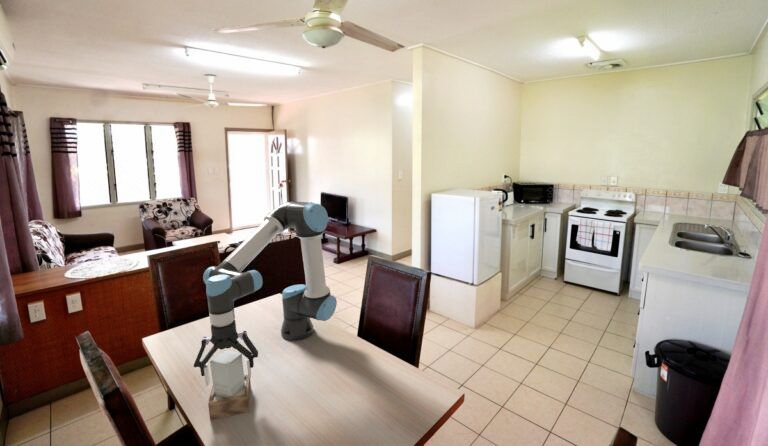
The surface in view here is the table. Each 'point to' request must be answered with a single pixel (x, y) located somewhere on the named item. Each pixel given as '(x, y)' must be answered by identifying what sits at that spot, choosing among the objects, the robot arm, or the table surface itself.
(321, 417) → the table surface
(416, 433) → the table surface
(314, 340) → the table surface
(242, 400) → the brown square open box
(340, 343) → the table surface
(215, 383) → the supplement box
